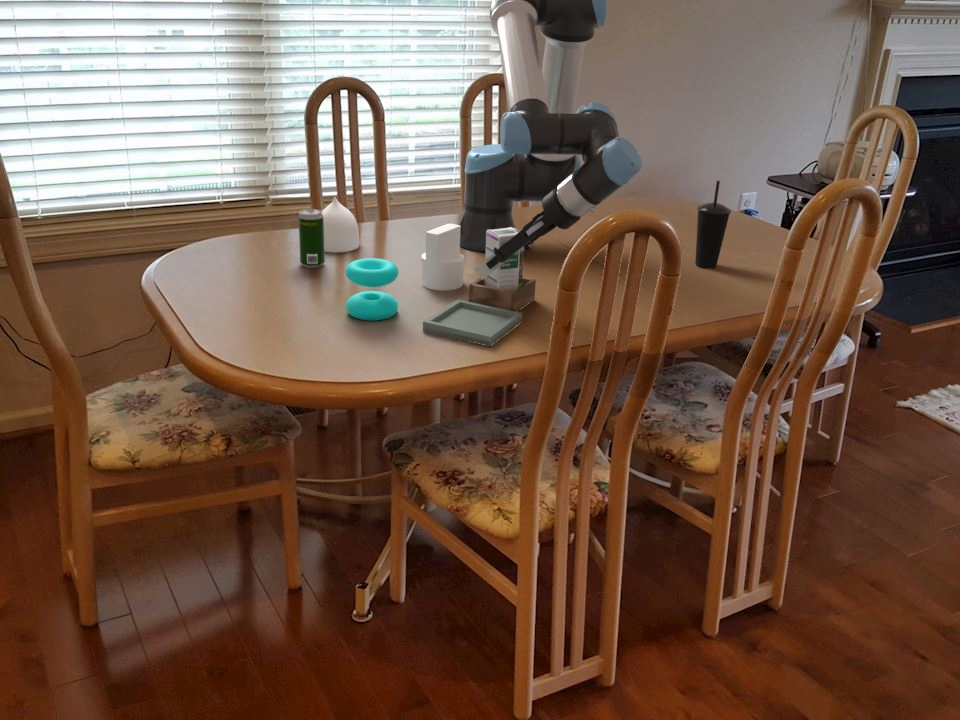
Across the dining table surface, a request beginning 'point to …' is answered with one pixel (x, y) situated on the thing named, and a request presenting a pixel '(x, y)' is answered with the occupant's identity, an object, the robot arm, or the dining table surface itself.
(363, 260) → the donuts
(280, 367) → the dining table surface
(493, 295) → the brown square open box
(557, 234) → the dining table surface
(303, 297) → the dining table surface
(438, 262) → the cylinder with rectangular tab
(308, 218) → the beer can
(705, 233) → the drinking cup
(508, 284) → the syrup box
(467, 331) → the tray
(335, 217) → the teardrop
